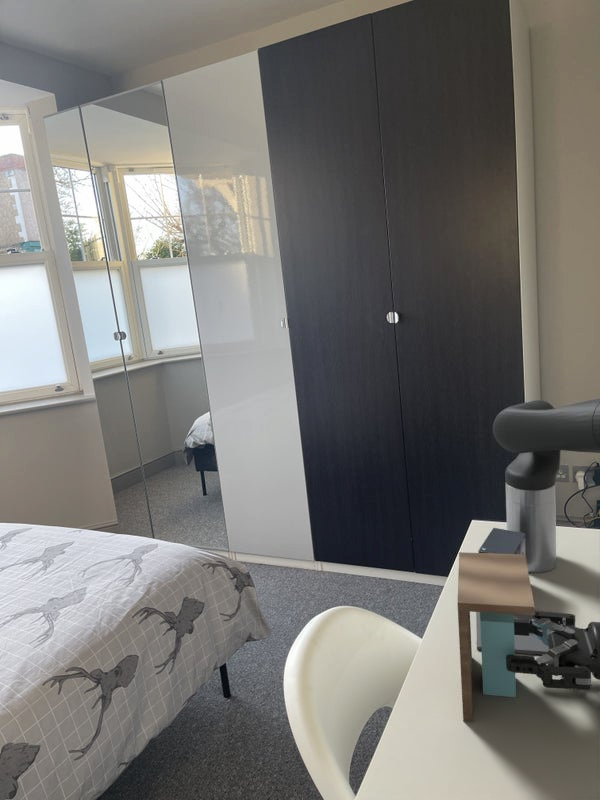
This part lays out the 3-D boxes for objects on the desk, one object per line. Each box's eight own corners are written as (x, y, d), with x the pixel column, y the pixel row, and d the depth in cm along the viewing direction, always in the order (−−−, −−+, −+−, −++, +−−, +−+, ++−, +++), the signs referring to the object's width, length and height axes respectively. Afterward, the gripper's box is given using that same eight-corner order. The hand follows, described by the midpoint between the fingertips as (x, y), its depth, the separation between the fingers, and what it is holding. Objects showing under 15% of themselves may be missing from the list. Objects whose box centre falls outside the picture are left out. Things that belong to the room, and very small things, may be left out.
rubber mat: (476, 614, 107) (476, 611, 107) (542, 618, 104) (542, 615, 104) (476, 649, 98) (476, 646, 98) (550, 655, 95) (549, 651, 94)
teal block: (482, 673, 92) (479, 603, 89) (513, 676, 91) (511, 605, 88) (483, 694, 88) (480, 620, 85) (515, 697, 87) (513, 623, 84)
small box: (515, 610, 107) (513, 556, 105) (478, 603, 111) (476, 550, 108) (527, 582, 116) (526, 531, 113) (493, 575, 119) (491, 526, 117)
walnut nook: (464, 656, 96) (459, 552, 92) (527, 661, 94) (525, 554, 90) (463, 720, 83) (457, 602, 79) (536, 728, 81) (534, 606, 77)
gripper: (616, 599, 89) (501, 594, 93) (643, 662, 76) (506, 651, 80) (616, 644, 91) (502, 637, 95) (641, 713, 77) (508, 700, 82)
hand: (504, 643), depth 88 cm, fingers open, 8 cm apart
